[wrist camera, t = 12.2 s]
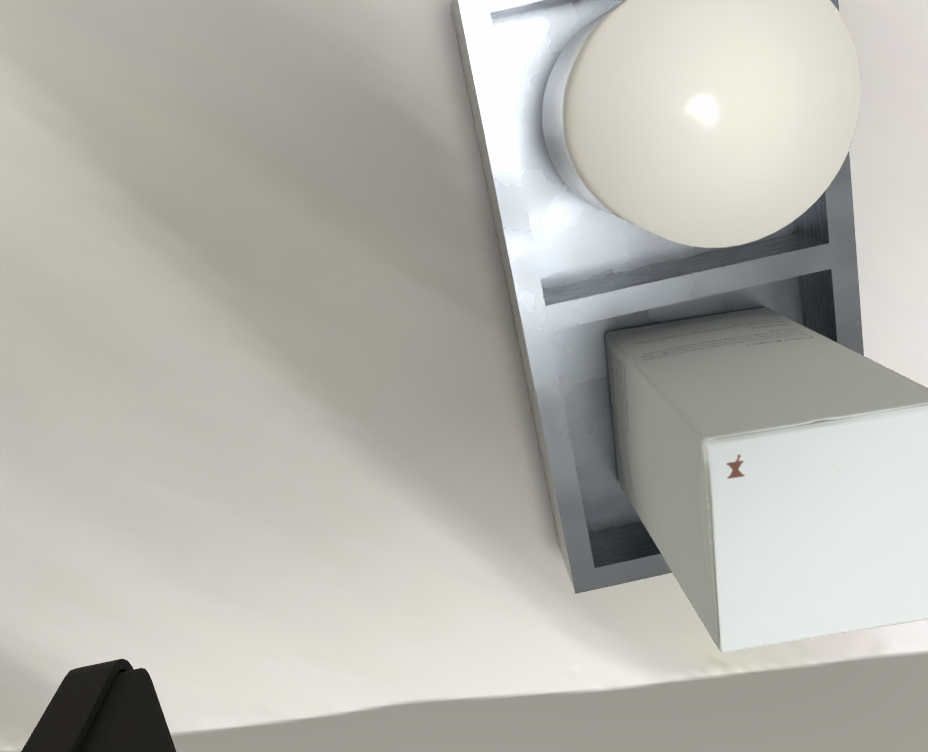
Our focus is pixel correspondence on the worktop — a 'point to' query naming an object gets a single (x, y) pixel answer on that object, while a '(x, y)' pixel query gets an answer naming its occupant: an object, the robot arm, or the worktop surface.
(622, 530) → the divided grey tray
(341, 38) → the worktop surface
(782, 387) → the supplement box
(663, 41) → the white rounded cylinder
